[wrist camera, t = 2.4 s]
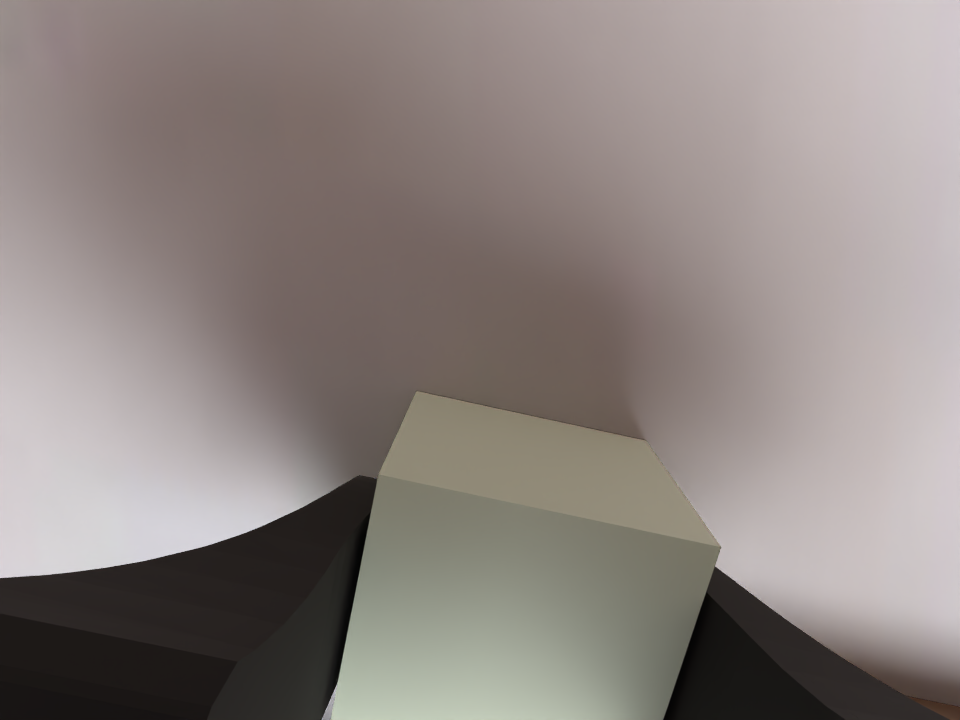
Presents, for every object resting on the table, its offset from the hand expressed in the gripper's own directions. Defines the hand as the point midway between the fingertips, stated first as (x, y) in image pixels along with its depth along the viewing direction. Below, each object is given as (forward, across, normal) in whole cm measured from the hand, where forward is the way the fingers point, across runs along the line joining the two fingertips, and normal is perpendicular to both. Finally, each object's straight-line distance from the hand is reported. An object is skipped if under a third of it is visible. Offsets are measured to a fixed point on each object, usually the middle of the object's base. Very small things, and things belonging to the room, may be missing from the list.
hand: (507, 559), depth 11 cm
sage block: (+1, 0, 0) cm, 1 cm away
